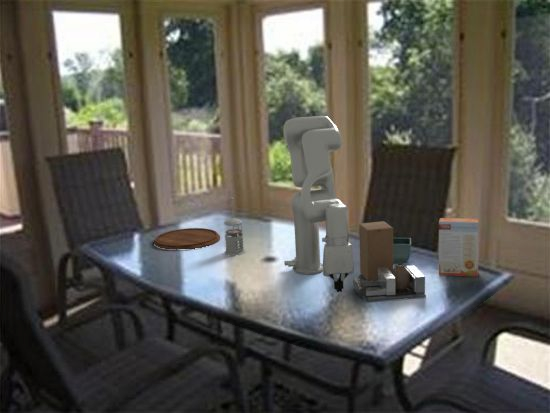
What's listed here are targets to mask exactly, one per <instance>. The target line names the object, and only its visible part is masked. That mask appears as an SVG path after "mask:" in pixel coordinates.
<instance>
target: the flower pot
mask: <svg viewBox="0 0 550 413" xmlns="http://www.w3.org/2000/svg"><path fill="white" fill-rule="evenodd" d="M411 250H412V238H411V237H393V265H397V264H403V265H406V264H407V263H408V261H409V259H410V256H411Z"/></svg>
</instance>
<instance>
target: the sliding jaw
mask: <svg viewBox="0 0 550 413" xmlns="http://www.w3.org/2000/svg"><path fill="white" fill-rule="evenodd" d="M352 283H353V287H354V289H355V291H356V292H357V294H358V295H359V297H360V298H365V297H366V296H374V295H395V277H394V276H393V275H392V273H391V272H390V271H389V270H388V269H387V267H378V280H371V281H367V280H361V278H360V277H359V276H358V277H353V280H352ZM377 285H380V287H381V288H382V289H377V290H366V287H365V286H377Z"/></svg>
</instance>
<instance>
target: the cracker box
mask: <svg viewBox="0 0 550 413" xmlns="http://www.w3.org/2000/svg"><path fill="white" fill-rule="evenodd" d="M479 224H480V221H479V218H454V217H453V218H452V217H451V218H449V217H448V218H447V217H444V218H443V217H440V218H439V221H438V275H439V276H456V277H475V278H476V277H479V276H478V275H479Z"/></svg>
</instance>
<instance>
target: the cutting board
mask: <svg viewBox="0 0 550 413" xmlns="http://www.w3.org/2000/svg"><path fill="white" fill-rule="evenodd" d="M220 240H221V236H220V234H219V233H218V232H217V231H216V230H214V229H210V228H204V227H203V228H202V227H189V228H179V229H175V230H169V231H166V232H163V233H161V234H158V235H157V236H156V237H155V238H154V240H153V241H154V244H155V245H156V246H158V247H160V248H165V249H176V250H177V249H194V250H196V249H195V248H200V249H203V248H202V247H204V248H207V247H206V246H208V247H210V245H211V246H213V245H215V244H216V243H218V242H220Z"/></svg>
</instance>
